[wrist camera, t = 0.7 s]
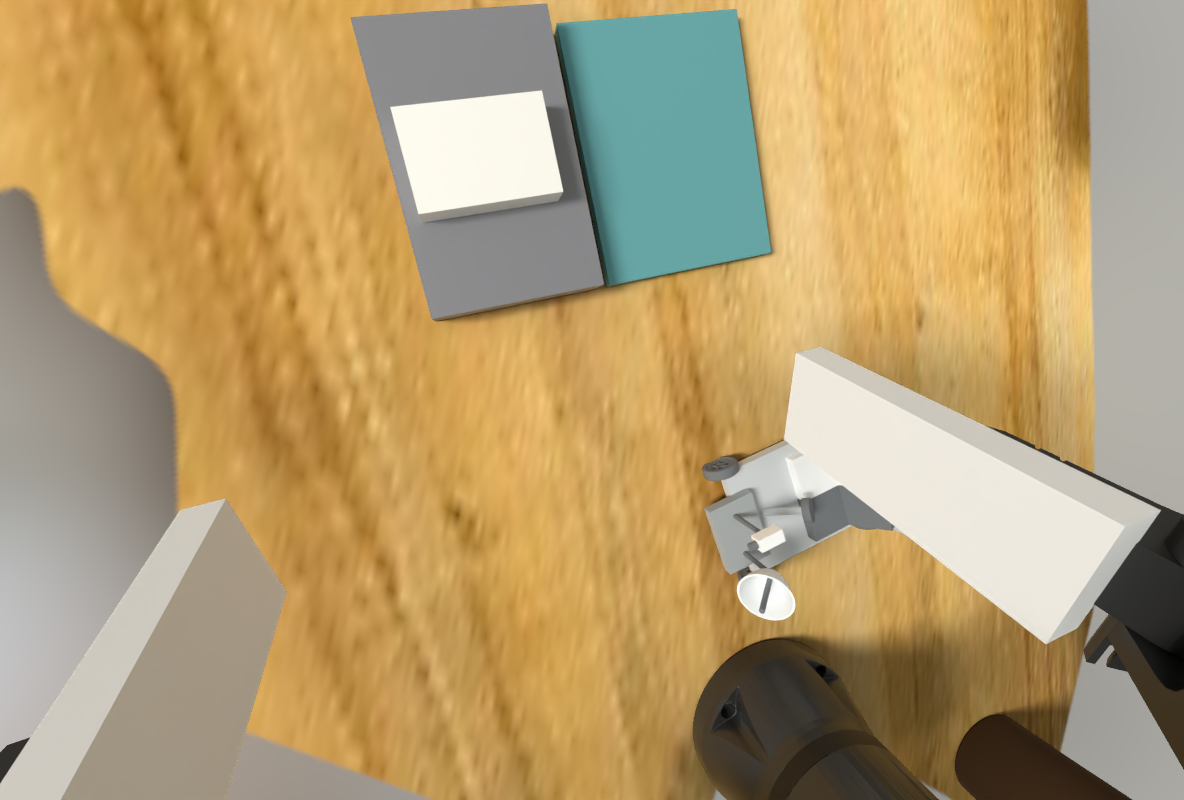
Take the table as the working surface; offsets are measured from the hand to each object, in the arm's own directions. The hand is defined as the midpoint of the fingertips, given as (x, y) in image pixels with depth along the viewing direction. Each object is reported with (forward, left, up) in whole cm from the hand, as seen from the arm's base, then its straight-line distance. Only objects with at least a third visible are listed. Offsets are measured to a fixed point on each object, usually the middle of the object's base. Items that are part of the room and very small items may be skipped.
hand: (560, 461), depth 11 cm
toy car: (-16, -21, -25) cm, 37 cm away
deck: (+14, -2, -25) cm, 29 cm away
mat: (+14, -16, -25) cm, 33 cm away
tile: (+14, -2, -22) cm, 26 cm away
